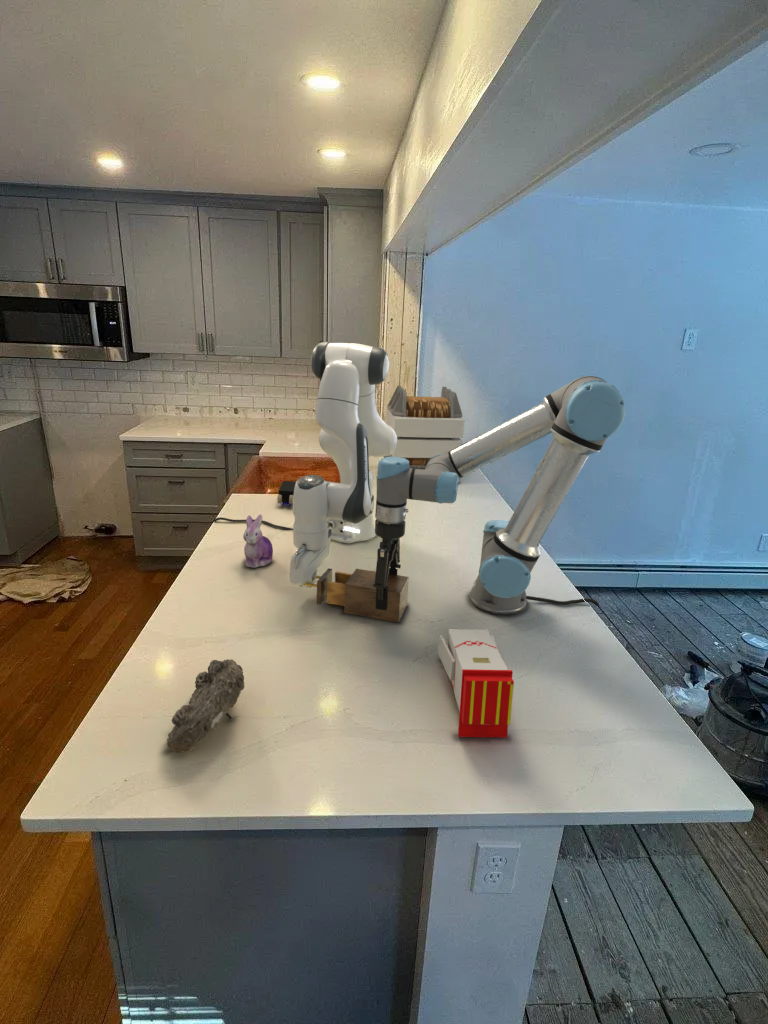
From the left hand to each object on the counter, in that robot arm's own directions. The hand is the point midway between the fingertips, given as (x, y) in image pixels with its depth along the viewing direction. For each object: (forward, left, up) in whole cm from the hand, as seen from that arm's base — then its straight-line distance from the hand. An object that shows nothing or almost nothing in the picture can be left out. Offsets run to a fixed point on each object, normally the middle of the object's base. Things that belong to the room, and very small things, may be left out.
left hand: (310, 585), depth 153 cm
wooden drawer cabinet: (+18, 0, -4) cm, 19 cm away
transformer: (0, +134, -4) cm, 134 cm away
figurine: (-23, +15, -4) cm, 28 cm away
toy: (+47, -26, -4) cm, 54 cm away
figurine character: (-38, +68, -4) cm, 78 cm away
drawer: (+7, 0, -3) cm, 8 cm away
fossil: (+1, -50, -4) cm, 50 cm away
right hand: (+21, 0, 0) cm, 21 cm away
